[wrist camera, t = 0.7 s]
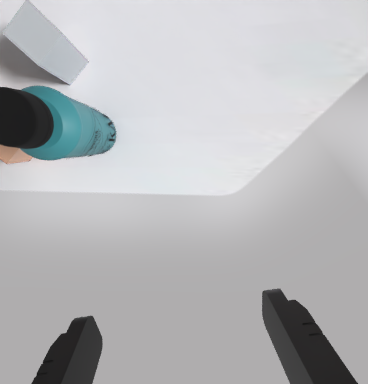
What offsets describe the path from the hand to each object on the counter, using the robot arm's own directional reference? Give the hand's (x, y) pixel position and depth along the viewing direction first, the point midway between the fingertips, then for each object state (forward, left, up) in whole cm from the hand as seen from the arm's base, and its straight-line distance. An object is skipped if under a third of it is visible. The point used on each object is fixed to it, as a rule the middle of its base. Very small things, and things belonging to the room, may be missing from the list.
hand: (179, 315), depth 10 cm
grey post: (-24, -2, -27) cm, 37 cm away
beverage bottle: (-14, -4, -27) cm, 31 cm away
